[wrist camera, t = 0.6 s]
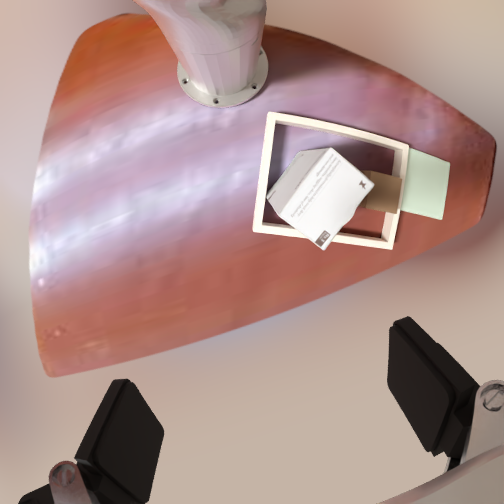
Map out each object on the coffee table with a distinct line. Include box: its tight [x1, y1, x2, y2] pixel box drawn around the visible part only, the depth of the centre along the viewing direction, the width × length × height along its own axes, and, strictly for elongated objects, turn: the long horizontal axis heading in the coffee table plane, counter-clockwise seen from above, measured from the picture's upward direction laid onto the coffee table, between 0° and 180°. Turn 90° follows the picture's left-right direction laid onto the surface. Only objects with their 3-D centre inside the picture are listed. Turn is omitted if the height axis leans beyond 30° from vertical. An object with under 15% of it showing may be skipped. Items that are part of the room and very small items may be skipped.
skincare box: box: [266, 148, 374, 250], centre depth 31 cm, size 8×6×15 cm
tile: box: [400, 148, 450, 220], centre depth 38 cm, size 10×10×1 cm
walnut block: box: [358, 170, 402, 214], centre depth 36 cm, size 5×5×5 cm
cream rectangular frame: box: [253, 112, 409, 250], centre depth 37 cm, size 16×21×2 cm
